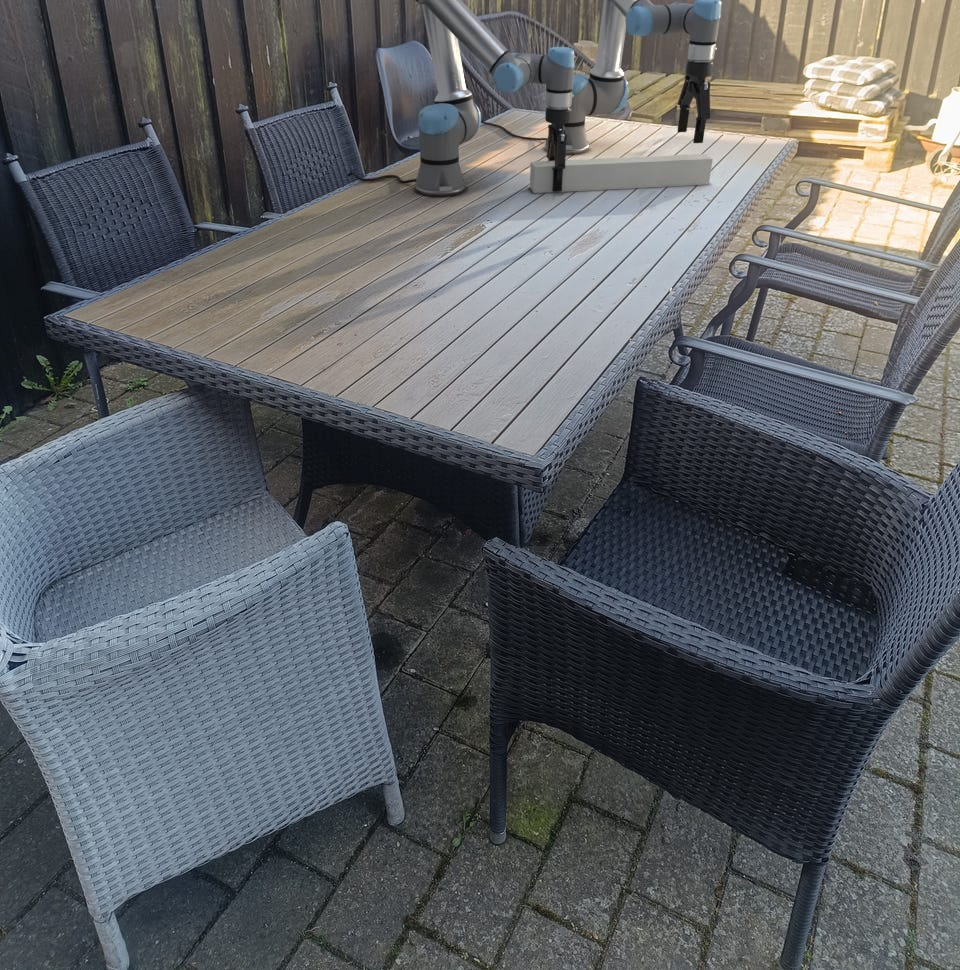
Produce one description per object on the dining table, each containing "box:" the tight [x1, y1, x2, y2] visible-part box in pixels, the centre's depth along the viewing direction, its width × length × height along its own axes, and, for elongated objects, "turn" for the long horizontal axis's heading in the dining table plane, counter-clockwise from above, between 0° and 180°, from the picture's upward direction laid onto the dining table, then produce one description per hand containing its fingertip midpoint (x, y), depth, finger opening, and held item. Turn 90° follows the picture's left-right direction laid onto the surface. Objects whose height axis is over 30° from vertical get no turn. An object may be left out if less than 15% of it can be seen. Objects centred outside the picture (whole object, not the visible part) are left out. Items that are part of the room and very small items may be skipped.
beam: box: [529, 153, 714, 194], centre depth 259 cm, size 56×6×8 cm, turn 99°
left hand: (554, 187), depth 259 cm, fingers closed on beam, 6 cm apart
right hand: (689, 137), depth 256 cm, fingers open, 13 cm apart
